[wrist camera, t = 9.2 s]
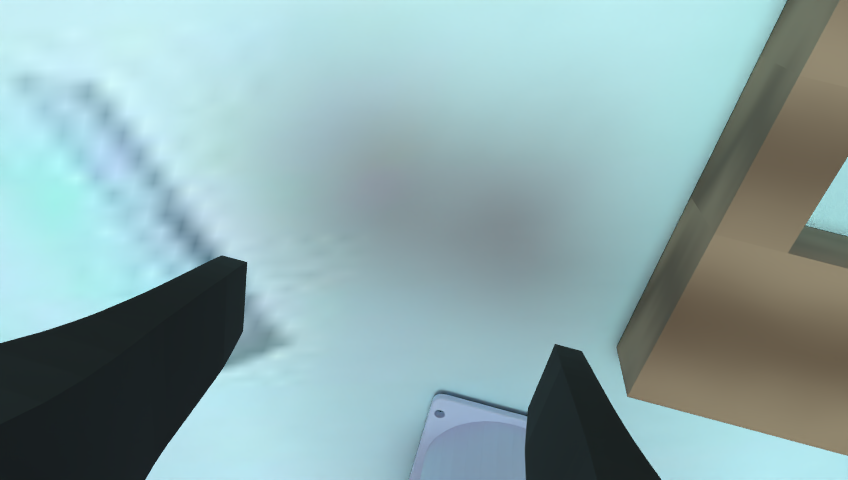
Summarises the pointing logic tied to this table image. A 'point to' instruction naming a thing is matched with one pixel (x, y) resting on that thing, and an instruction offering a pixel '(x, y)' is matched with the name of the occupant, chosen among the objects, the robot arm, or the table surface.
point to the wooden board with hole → (760, 255)
